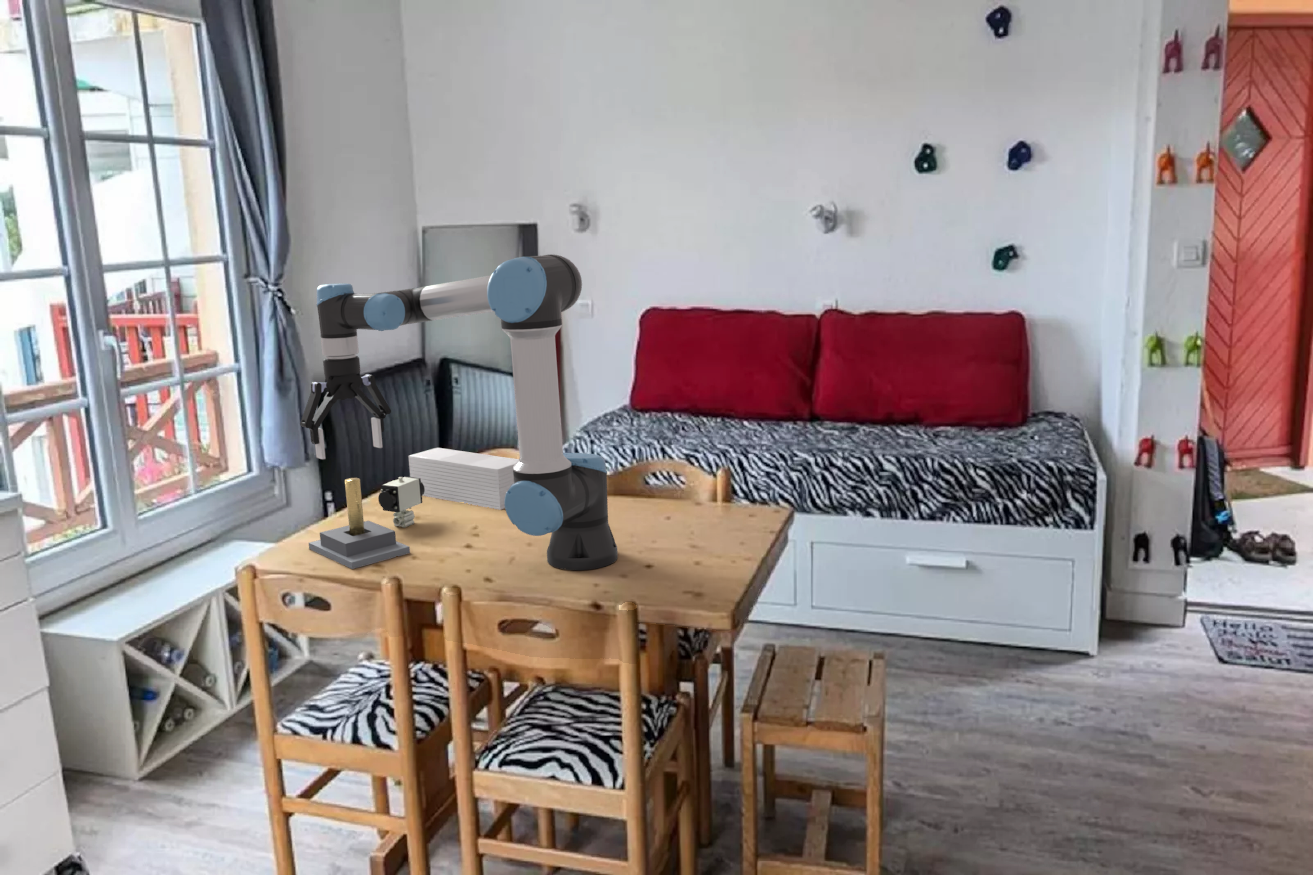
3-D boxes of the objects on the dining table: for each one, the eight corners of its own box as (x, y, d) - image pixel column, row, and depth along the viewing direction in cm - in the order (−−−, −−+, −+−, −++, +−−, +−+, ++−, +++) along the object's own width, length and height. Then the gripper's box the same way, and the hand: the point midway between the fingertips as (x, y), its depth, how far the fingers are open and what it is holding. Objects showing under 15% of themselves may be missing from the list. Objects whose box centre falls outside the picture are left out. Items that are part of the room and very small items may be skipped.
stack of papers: (411, 494, 279) (408, 455, 276) (440, 485, 287) (437, 447, 285) (500, 510, 261) (497, 469, 259) (528, 500, 270) (526, 460, 267)
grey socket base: (410, 553, 229) (408, 533, 228) (352, 569, 220) (350, 548, 219) (365, 534, 244) (363, 516, 243) (309, 549, 234) (307, 530, 233)
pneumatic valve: (427, 519, 254) (424, 472, 252) (395, 533, 244) (391, 484, 241) (410, 517, 257) (406, 470, 254) (377, 530, 246) (373, 481, 244)
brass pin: (368, 544, 231) (362, 479, 228) (355, 547, 229) (349, 482, 226) (361, 541, 234) (355, 477, 230) (348, 544, 232) (342, 479, 228)
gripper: (384, 348, 233) (392, 440, 238) (277, 361, 217) (287, 460, 221) (401, 351, 228) (409, 444, 233) (293, 364, 211) (303, 465, 216)
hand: (350, 452), depth 227 cm, fingers open, 13 cm apart
